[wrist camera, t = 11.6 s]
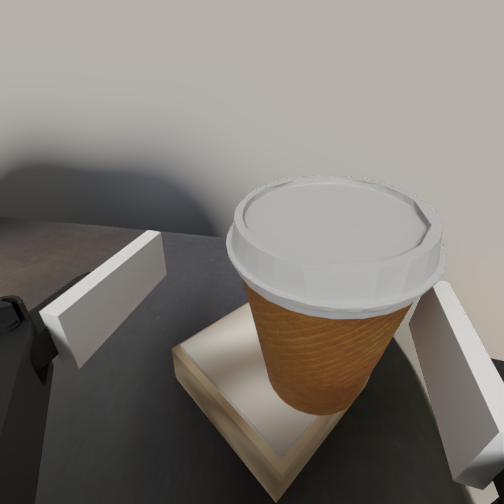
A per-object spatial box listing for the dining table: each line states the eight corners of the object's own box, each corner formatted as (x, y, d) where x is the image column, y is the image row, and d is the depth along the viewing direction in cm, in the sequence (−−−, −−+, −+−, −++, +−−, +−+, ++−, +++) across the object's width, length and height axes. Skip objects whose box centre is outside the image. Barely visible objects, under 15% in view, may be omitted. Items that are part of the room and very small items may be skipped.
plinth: (175, 377, 23) (170, 344, 21) (268, 314, 30) (271, 284, 28) (276, 502, 17) (282, 471, 14) (365, 386, 23) (379, 353, 21)
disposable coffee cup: (351, 491, 14) (420, 329, 7) (214, 380, 19) (177, 224, 12) (408, 355, 20) (475, 194, 13) (291, 299, 25) (295, 162, 18)
